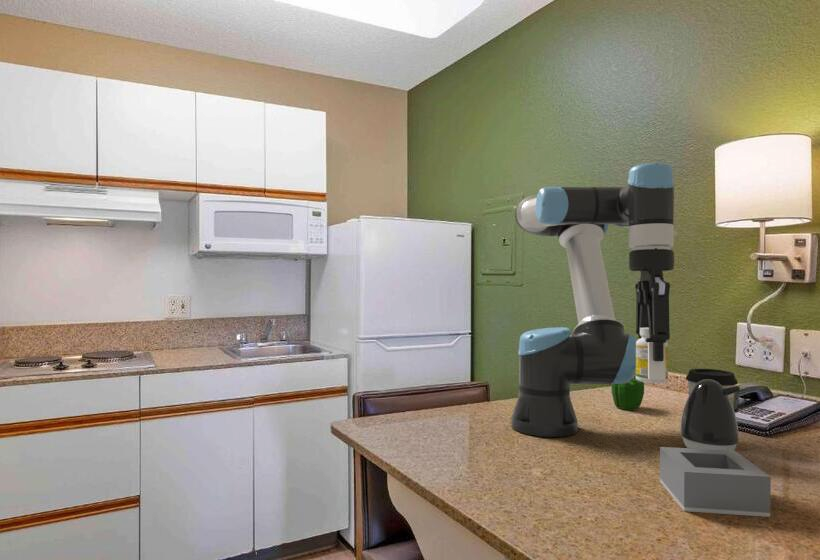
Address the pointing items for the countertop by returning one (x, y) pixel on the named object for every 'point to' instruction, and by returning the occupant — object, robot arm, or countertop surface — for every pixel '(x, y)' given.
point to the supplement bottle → (646, 358)
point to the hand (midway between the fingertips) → (652, 376)
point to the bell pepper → (628, 394)
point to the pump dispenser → (710, 417)
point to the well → (715, 481)
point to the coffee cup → (712, 378)
